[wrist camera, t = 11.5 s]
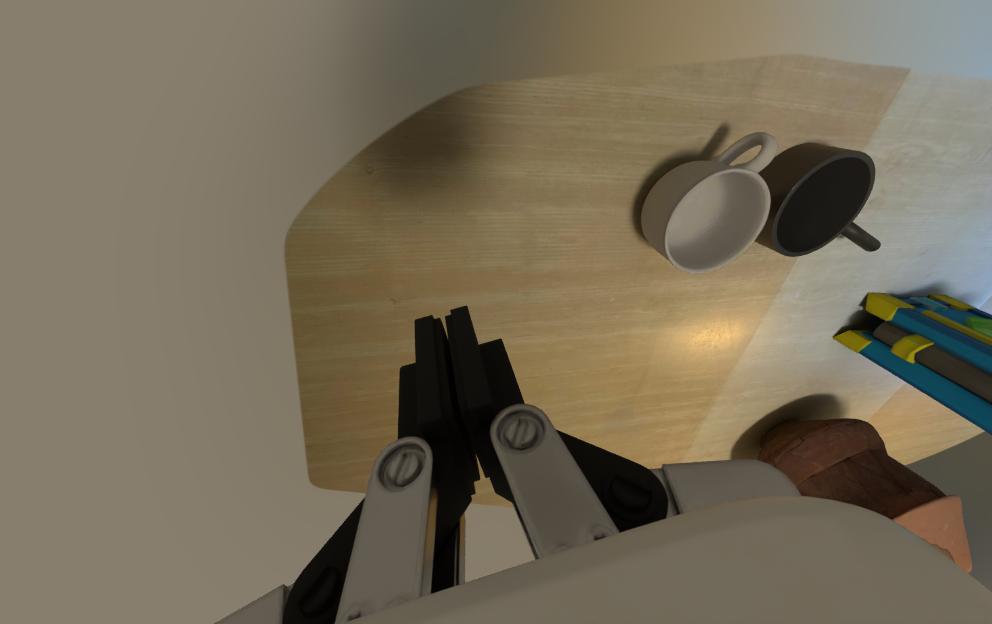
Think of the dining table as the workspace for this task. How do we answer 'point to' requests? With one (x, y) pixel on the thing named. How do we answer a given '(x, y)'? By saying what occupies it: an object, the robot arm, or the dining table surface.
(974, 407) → the decorative book
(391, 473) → the robot arm
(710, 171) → the teacup
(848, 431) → the pottery vessel
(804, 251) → the milk pan
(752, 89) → the dining table surface
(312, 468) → the dining table surface
